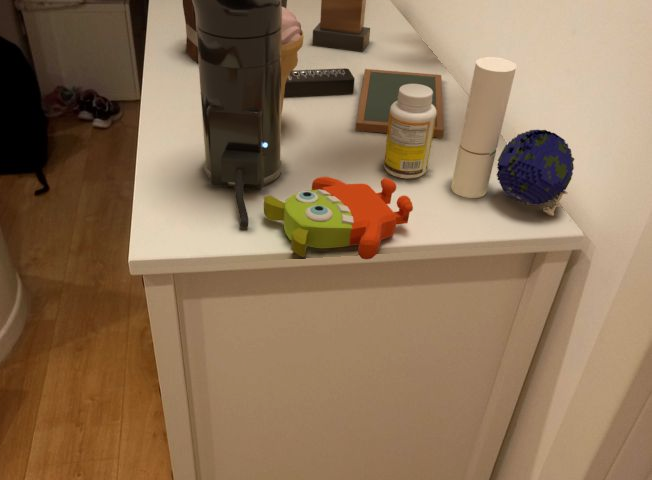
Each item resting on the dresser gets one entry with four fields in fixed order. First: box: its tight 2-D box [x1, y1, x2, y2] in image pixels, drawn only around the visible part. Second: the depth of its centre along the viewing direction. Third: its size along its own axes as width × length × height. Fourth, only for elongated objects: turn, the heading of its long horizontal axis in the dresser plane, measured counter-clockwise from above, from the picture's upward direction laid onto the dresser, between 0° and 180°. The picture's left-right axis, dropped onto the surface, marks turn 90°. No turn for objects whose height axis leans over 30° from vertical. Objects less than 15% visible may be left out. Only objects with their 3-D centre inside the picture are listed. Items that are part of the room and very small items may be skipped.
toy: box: [263, 176, 414, 260], centre depth 75 cm, size 15×4×15 cm
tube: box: [450, 56, 517, 199], centre depth 79 cm, size 4×4×15 cm
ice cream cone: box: [281, 7, 304, 116], centre depth 88 cm, size 11×11×20 cm
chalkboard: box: [355, 68, 445, 139], centre depth 102 cm, size 20×12×1 cm, turn 173°
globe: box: [496, 129, 575, 217], centre depth 79 cm, size 8×8×8 cm
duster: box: [311, 0, 371, 53], centre depth 117 cm, size 5×9×10 cm, turn 73°
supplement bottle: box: [383, 84, 437, 179], centre depth 84 cm, size 6×6×10 cm
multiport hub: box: [284, 67, 356, 98], centre depth 104 cm, size 4×11×2 cm, turn 101°
